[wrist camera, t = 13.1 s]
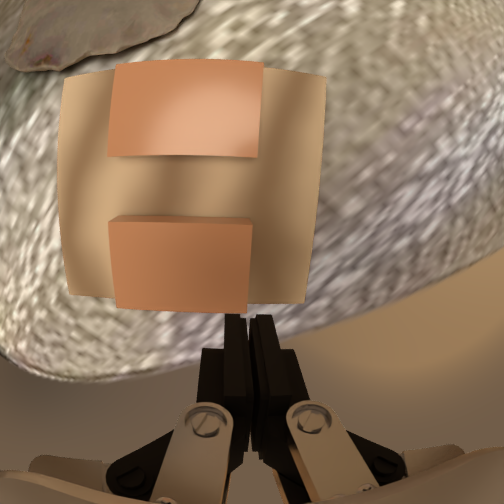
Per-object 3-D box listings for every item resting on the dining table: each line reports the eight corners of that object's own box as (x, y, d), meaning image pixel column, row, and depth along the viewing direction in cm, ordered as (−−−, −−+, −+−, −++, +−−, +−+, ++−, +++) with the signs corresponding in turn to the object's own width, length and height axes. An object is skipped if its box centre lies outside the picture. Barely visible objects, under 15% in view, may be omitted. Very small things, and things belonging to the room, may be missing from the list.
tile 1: (263, 62, 14) (116, 64, 13) (257, 157, 16) (107, 157, 15) (258, 73, 16) (126, 73, 15) (252, 158, 18) (119, 156, 17)
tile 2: (252, 225, 17) (107, 221, 16) (246, 313, 19) (116, 307, 18) (249, 217, 19) (119, 214, 18) (243, 297, 21) (125, 293, 20)
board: (321, 80, 18) (326, 77, 17) (300, 297, 23) (304, 303, 22) (70, 80, 15) (64, 78, 14) (74, 289, 20) (69, 294, 19)
